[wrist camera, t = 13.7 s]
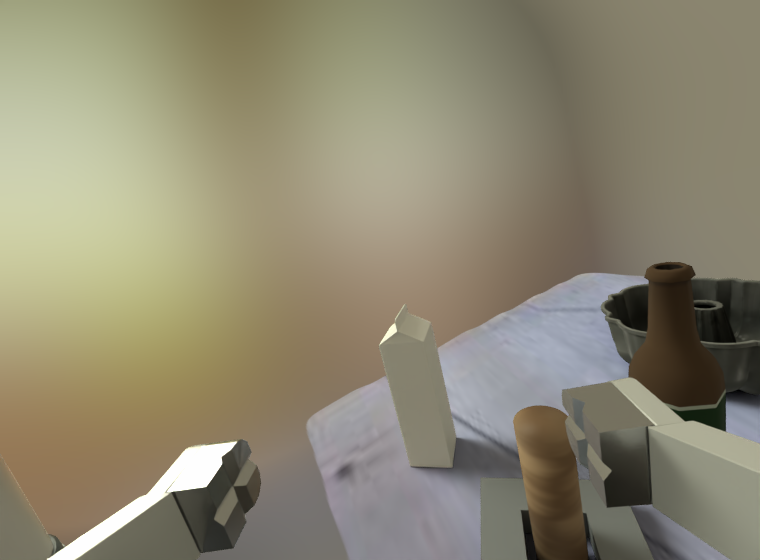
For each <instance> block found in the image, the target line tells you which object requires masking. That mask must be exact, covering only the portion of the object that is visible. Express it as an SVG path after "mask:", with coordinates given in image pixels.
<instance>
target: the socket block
mask: <svg viewBox="0 0 760 560" xmlns="http://www.w3.org/2000/svg"><path fill="white" fill-rule="evenodd" d="M579 487H580V495H581V503H582V511H583V518H584V526H585V534H586V537H590V541H591V544H592V547H593V551H594V554H595V557H596V560H654V558H653V556H652V554H651V552H650V549H649V547H648V545H647V543H646V540H645V538H644V536H643V534H642V531H641V529H640V527H639V525H638V523H637V520H636V518H635V516H634V514H633V511H632V509H631V507H630V506H623V507H611V508H607V507H606V506H605V504H604V502H603V501H602V499H601V498H600V496H599V494H598V493H597V491H596V490H595V488H594V486H593V485H592V483H591V481H590V480H579ZM525 533H532V527H531V521H530V515H529V510H528V504H527V498H526V492H525V487H524V481H523V478H481V560H528V554H527V546H526V538H525Z"/></svg>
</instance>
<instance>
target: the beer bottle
mask: <svg viewBox="0 0 760 560" xmlns="http://www.w3.org/2000/svg"><path fill="white" fill-rule="evenodd" d="M693 276H695V272H694V270H693V268H692V266H689V265H686V264H684V263H680V262H665V263H659V264H654V265H652V266H650V267H649V268H648V269H647V271H646V274H645V277H644V278H646V279H648V280H649V291H648V329H647V334H646V340H645V342H644V343H643V344H642V346H641V347H640V348H639V349H638V350H637V351H636V352H635V354H634V356H633V358H632V360H631V363H630V365H629V378H630V377H631V378H634V379H636V380H637V381H638V382H639V383H641V384H642V385H643V386H644V387H645V388H646V389H648V390H649V391H650V392H651V393H652V394H654V395H655V396H656V397H657V398H658V399H659V400H661V401H662V402H663V403H664V404H665V405H666V406H668V407H669V408H670V409H671V410H672V411H674V412H675V413H676V414H677V415H678V416H679V417H681V418H682V419H683V420H684V421H685V422H687V421H696V422H699V423H702V424H705V425H707V426H710V427H713V428H716V429H719V430H722V431H725V432H726V389H725V381H724V373H723V371H722V369H721V367H720V365H719V363H718V362H717V360H716V358H715V357H714V356H713V355H712V354H711V353H710V352H709V351H708V350H707V349H706V348H705V347H704V346H703V344H702V343H701V341H700V338H699V334H698V331H697V326H696V318H695V309H694V301H693V292H692V284H691V279H692V278H693Z"/></svg>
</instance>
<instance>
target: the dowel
mask: <svg viewBox="0 0 760 560" xmlns="http://www.w3.org/2000/svg"><path fill="white" fill-rule="evenodd" d="M567 417H568V416H567V415H566V414H565V413H563V412H562V411H560V410H558V409H556V408H552V407H548V406H531V407H527V408H524V409H522V410H520V411H519V412H518V413H517V414H516V415H515V417H514V420H513V423H514V429H515V435H516V440H517V446H518V452H519V458H520V464H521V469H522V475H523V481H524V487H525V492H526V498H527V504H528V510H529V515H530V521H531V527H532V533H533V539H534V544H535V550H536V556H537V560H589V558H588V550H587V542H586V534H585V526H584V518H583V511H582V503H581V495H580V487H579V479H578V471H577V463H576V456H575V455H574V452H573V450H572V448H571V446H570V442H569V439H568V436H567V431H566V425H565V420H566V419H567Z"/></svg>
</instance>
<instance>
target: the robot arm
mask: <svg viewBox="0 0 760 560" xmlns="http://www.w3.org/2000/svg"><path fill="white" fill-rule="evenodd" d="M562 402H563V406H564V408H565V409H566V411H567V412H568V414H569V416H568V417H567V419H566V420H565V425H566V431H567V436H568V439H569V442H570V446H571V448H572V450H573V452H574V455H575V456H576V458H577V460H578V462H579V463H580V465H582V466H584V467H585V468H587V469H589V476H590V481H591V483H592V485H593V486H594V488H595V490H596V491H597V493H598V494H599V496H600V498H601V499H602V501H603V502H604V504H605V506H606V507H607V508H611V507H623V506H636V505H648V504H653V507H654V508H656V509H657V510H659V511H660V512H662V513H663V514H665V515H666V516H668V517H669V518H670V519H672V520H673V521H675V522H676V523H678V524H679V525H681V526H682V527H684V528H685V529H687V530H688V531H689V532H691V533H692V534H694V535H695V536H697V537H698V538H700V539H701V540H703V541H704V542H706V543H707V544H708V545H710V546H711V547H713V548H714V549H716V550H717V551H719V552H720V553H722V554H723V555H725V556H726V557H727V558H729V559H730V560H760V444H759V443H756V442H753V441H750V440H748V439H745V438H742V437H739V436H736V435H733V434H730V433H728V432H725V431H722V430H719V429H716V428H713V427H710V426H707V425H705V424H702V423H699V422H696V421H687V422H685V421H684V420H683V419H682V418H681V417H679V416H678V415H677V414H676V413H675V412H674V411H672V410H671V409H670V408H669V407H668V406H666V405H665V404H664V403H663V402H662V401H661V400H659V399H658V398H657V397H656V396H655V395H654V394H652V393H651V392H650V391H649V390H648V389H646V388H645V387H644V386H643V385H642V384H641V383H639V382H638V381H637V380H636V379H634V378H631V377H630V378H624V379H619V380H614V381H608V382H606V383H600V384H594V385H588V386H582V387H576V388H570V389H564V390H562ZM250 454H251V450H250V447H249V445H248V443H247V441H245V440H242V439H239V440H231V441H224V442H217V443H210V444H202V445H196V446H192V447H189V448H187V449H186V450H185V451H184V452H183V453H182V454H181V456H180V457H179V458H178V459H177V460H176V461H175V463H174V464H173V465H172V466H171V467H170V469H169V470H168V471H167V472H166V473H165V475H164V476H163V477H162V478H161V479H160V480H159V481H158V483H157V484H156V485H155V486H154V487H153V488H152V490H151V491H150V492H149V493H148V494H147V496H141V497H139V498H138V499H136V500H135V501H133V502H132V503H130V504H129V505H127V506H126V507H124V508H123V509H121V510H120V511H118V512H117V513H115V514H114V515H112V516H111V517H109V518H108V519H107V520H105V521H104V522H102V523H101V524H99V525H98V526H96V527H95V528H93V529H92V530H90V531H89V532H87V533H86V534H84V535H83V536H82V537H80V538H78V539H77V540H75V541H74V542H72V543H71V544H69V545H68V546H66V547H65V545H64V544H62V543H61V542H60V541H59V539H58V538H57V537H56V536H54V535H50V534H47V532H46V530H45V529H44V527H43V525H42V523H41V522H40V520H39V518H38V517H37V515H36V513H35V512H34V510H33V508H32V507H31V505H30V503H29V501H28V500H27V498H26V496H25V495H24V493H23V491H22V490H21V488H20V486H19V484H18V483H17V481H16V479H15V478H14V476H13V474H12V472H11V471H10V469H9V468H8V466H7V464H6V463H5V461H4V460H3V458H2V456H1V455H0V560H196V559H198V558H199V557H200V555H201V554H200V553H205V552H212V551H218V550H226V549H233V548H234V547H235V544H236V542H237V540H238V538H239V536H240V534H241V532H242V530H243V528H244V526H245V524H246V518H245V514H246V513H247V512H248V511H249V510H250V509H251V508H252V507H253V506H254V505H255V503H256V501H257V499H258V496H259V492H260V486H261V479H260V473H259V470H258V467H257V465H255V464H254V463H253V462H251V461H250V460H249V457H250Z"/></svg>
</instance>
